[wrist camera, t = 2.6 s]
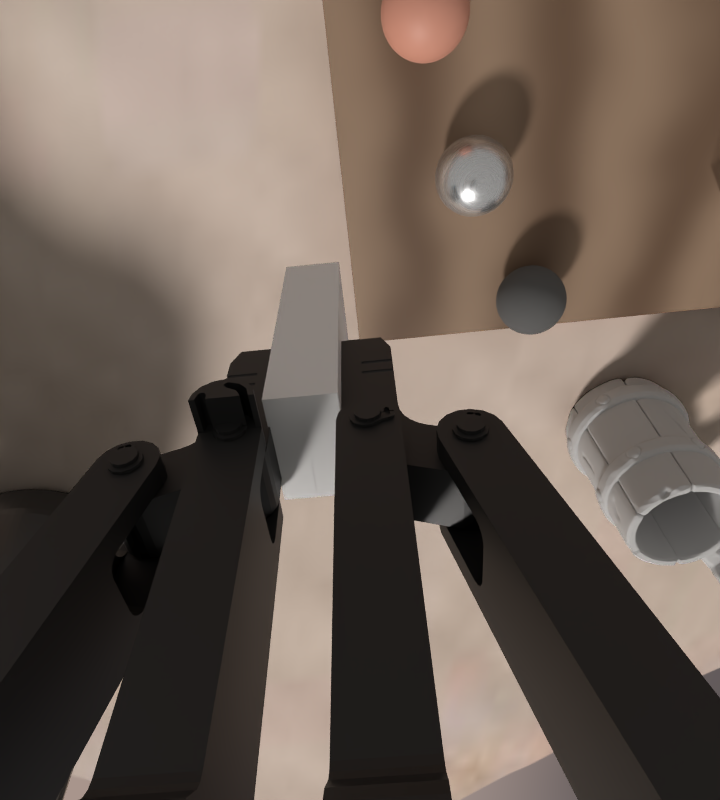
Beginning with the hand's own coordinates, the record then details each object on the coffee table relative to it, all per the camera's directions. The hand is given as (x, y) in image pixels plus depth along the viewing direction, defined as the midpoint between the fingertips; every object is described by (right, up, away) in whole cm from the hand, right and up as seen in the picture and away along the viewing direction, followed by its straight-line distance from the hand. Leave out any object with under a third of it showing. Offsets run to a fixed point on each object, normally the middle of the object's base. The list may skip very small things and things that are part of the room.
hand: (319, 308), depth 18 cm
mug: (+20, -5, +25) cm, 32 cm away
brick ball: (+4, +13, +6) cm, 14 cm away
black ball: (+10, +2, +13) cm, 17 cm away
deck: (+15, +11, +13) cm, 23 cm away
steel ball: (+6, +7, +10) cm, 14 cm away
